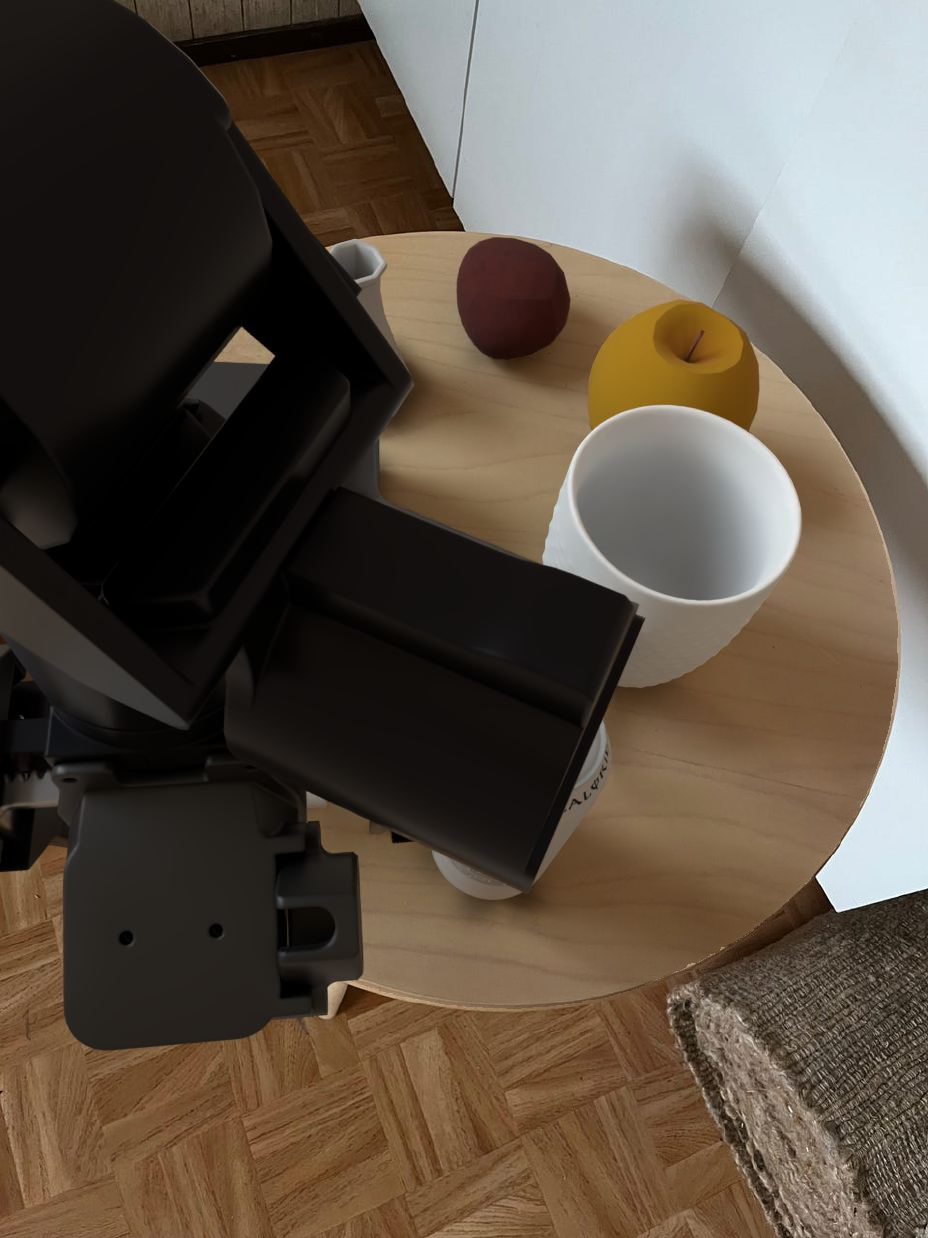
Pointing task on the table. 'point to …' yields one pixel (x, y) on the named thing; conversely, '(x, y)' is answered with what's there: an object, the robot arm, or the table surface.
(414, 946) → the table surface
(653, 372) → the apple
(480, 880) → the energy drink can
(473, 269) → the potato
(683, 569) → the mug
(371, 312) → the flask
